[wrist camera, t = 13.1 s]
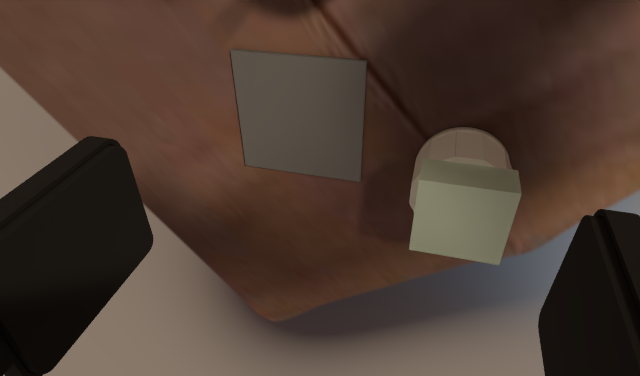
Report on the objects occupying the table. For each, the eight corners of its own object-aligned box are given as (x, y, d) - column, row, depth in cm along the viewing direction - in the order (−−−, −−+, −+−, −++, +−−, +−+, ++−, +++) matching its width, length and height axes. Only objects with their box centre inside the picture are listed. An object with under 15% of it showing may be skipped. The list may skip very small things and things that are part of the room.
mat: (367, 60, 36) (366, 62, 36) (360, 179, 43) (360, 182, 43) (232, 48, 39) (230, 50, 39) (247, 163, 46) (245, 165, 46)
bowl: (520, 133, 36) (526, 165, 32) (498, 208, 41) (501, 244, 37) (421, 121, 38) (416, 151, 34) (411, 195, 43) (405, 229, 39)
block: (518, 170, 33) (521, 193, 31) (497, 239, 37) (499, 265, 35) (422, 158, 34) (419, 179, 32) (412, 225, 39) (408, 249, 36)
